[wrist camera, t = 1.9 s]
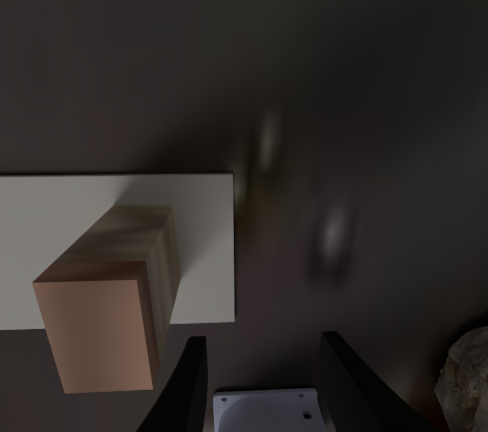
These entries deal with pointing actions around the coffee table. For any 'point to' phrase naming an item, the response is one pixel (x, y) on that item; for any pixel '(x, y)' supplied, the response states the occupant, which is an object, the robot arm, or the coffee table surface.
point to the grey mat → (96, 205)
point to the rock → (466, 383)
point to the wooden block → (112, 300)
